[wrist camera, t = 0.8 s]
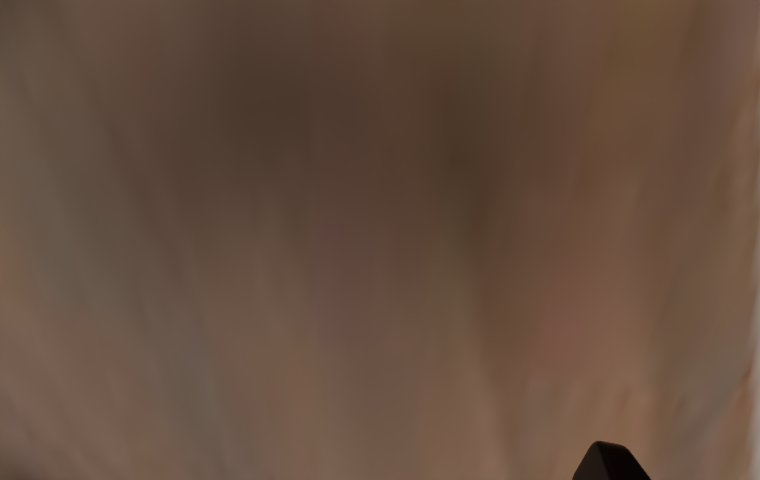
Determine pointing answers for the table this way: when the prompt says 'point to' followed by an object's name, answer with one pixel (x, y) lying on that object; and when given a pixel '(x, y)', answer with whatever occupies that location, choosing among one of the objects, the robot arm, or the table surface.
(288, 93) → the table surface
